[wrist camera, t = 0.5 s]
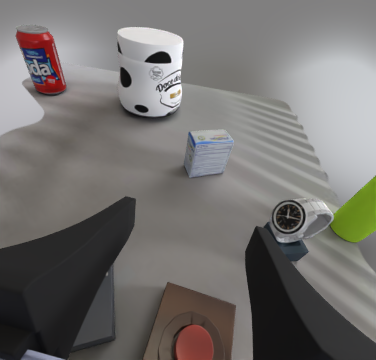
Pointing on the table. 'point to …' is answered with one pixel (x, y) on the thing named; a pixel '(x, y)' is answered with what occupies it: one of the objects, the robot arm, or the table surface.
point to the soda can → (41, 58)
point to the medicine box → (207, 152)
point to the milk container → (149, 71)
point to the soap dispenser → (357, 215)
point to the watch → (297, 224)
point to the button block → (190, 322)
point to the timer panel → (99, 317)
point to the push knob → (193, 344)
